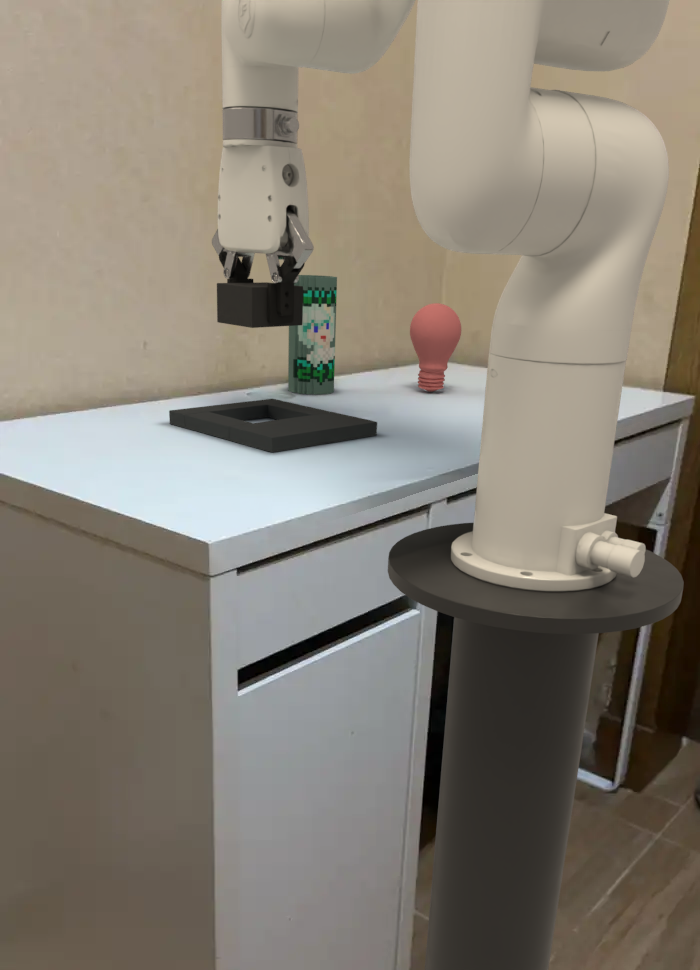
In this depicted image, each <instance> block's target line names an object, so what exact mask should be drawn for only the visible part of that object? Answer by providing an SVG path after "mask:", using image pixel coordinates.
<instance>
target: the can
mask: <svg viewBox="0 0 700 970" xmlns="http://www.w3.org/2000/svg"><path fill="white" fill-rule="evenodd" d="M294 285H296V286H303V320H302V325H297V326H288V357H287V358H288V359H287V363H288V364H287V365H288V366H287V367H288V368H287V369H288V371H287V372H288V373H287V375H288V376H287V379H288V380H287V391H288V392H291V393H293V394H299V395H315V396H316V395H328V394H333V393H335V369H336V368H335V367H336V365H335V364H336V363H335V360H336V332H337V331H336V329H337V328H336V326H337V299H338V298H337V294H338V293H337V292H338V291H337V290H338V276H333V275H319V274H318V275H317V274H299V279H298V282H297V283H294Z"/></svg>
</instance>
